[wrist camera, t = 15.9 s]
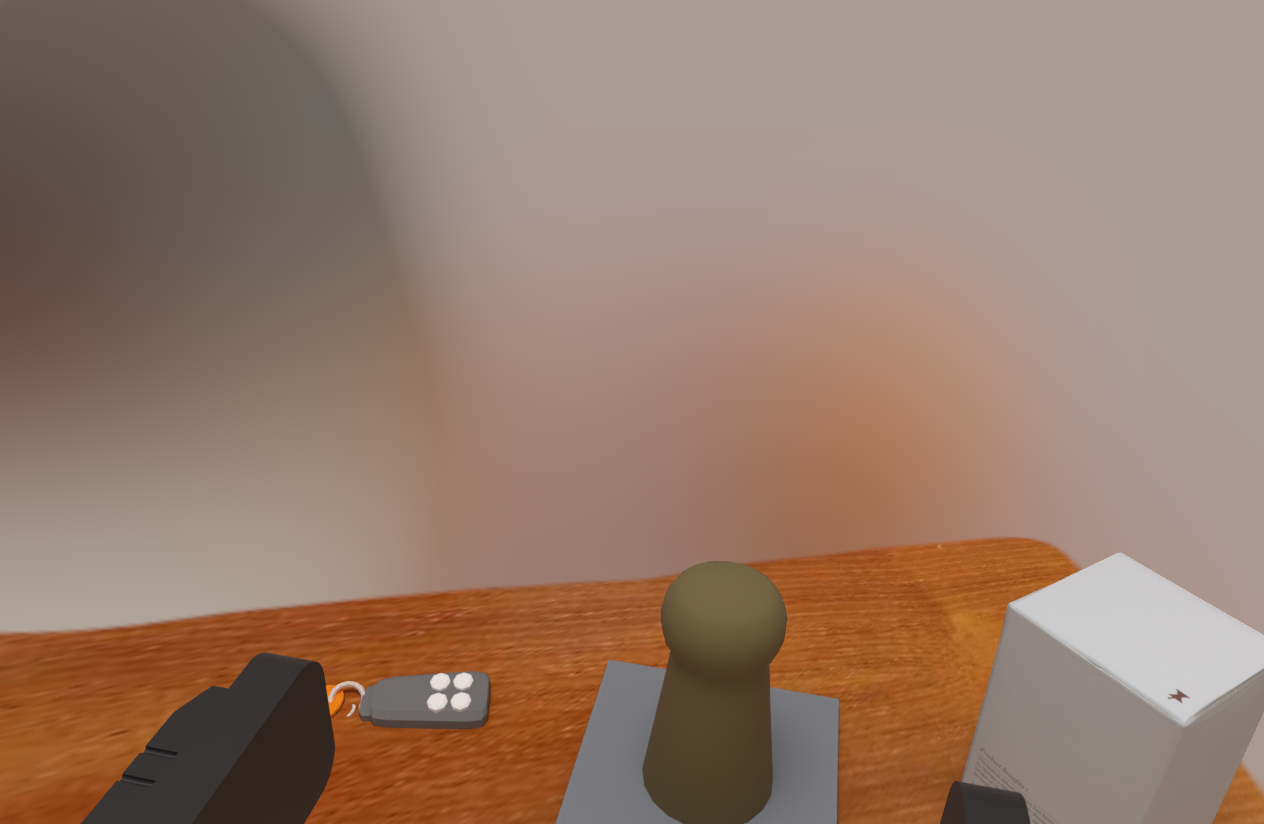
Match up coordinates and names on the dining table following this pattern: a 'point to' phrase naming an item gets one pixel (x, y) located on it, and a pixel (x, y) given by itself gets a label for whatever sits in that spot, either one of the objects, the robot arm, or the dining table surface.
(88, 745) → the dining table surface
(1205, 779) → the supplement box
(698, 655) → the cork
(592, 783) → the slate mat
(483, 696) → the key chain
